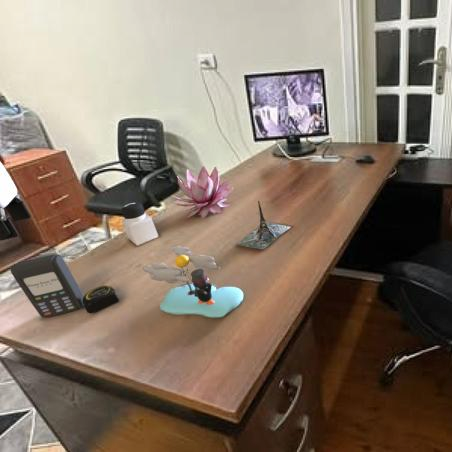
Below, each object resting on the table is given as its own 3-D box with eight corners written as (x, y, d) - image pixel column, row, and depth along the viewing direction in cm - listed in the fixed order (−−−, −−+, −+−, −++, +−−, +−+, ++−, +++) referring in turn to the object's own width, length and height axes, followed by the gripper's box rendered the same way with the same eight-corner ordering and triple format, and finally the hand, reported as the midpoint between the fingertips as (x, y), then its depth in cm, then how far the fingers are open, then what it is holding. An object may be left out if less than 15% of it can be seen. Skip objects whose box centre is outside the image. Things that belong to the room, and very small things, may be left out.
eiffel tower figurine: (265, 222, 117) (258, 185, 111) (291, 227, 113) (284, 189, 107) (237, 245, 106) (226, 206, 99) (264, 251, 102) (255, 210, 95)
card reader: (40, 321, 83) (5, 271, 76) (46, 311, 86) (14, 261, 79) (83, 310, 85) (54, 260, 78) (87, 300, 89) (60, 251, 81)
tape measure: (89, 319, 82) (83, 307, 80) (86, 304, 87) (79, 292, 85) (121, 305, 86) (115, 293, 84) (116, 291, 91) (110, 280, 89)
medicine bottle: (159, 236, 115) (146, 204, 109) (137, 246, 111) (122, 212, 105) (150, 230, 120) (138, 198, 114) (129, 239, 115) (115, 206, 109)
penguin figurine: (250, 293, 85) (237, 241, 78) (228, 325, 76) (210, 270, 69) (181, 285, 91) (162, 235, 83) (153, 314, 82) (129, 261, 74)
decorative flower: (185, 232, 116) (171, 190, 109) (173, 210, 133) (160, 173, 125) (246, 212, 126) (237, 172, 118) (227, 194, 142) (218, 158, 135)
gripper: (-38, 144, 72) (8, 217, 80) (-81, 166, 58) (-21, 252, 66) (7, 136, 74) (46, 208, 83) (-25, 157, 60) (26, 240, 69)
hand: (16, 228), depth 75 cm, fingers open, 9 cm apart
